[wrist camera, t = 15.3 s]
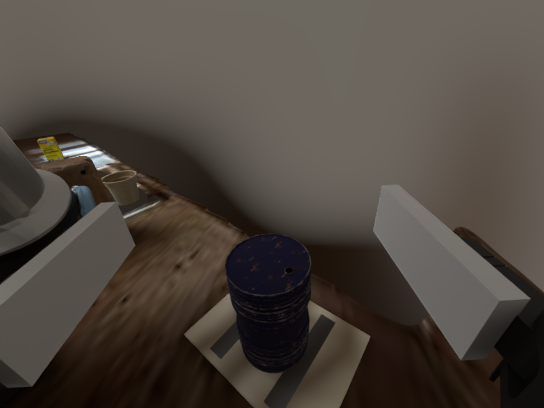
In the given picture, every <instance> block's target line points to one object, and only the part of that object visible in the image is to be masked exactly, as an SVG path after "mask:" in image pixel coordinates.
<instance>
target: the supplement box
mask: <svg viewBox="0 0 544 408" xmlns="http://www.w3.org/2000/svg"><path fill="white" fill-rule="evenodd" d="M37 142H38V144H39V145H40V147H41V149H42V151H43V153H44V155H45V156H46V158H47V160H48V162H54V161H56V160H60V159H64V156H63V154H62V152H61V150H60V148H59V146H58V144H57V142H56V140H55V138H54V137H49V138H43V139H38V141H37Z"/></svg>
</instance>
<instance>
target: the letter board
mask: <svg viewBox="0 0 544 408" xmlns="http://www.w3.org/2000/svg"><path fill="white" fill-rule="evenodd" d="M307 307H308V311H309V318H310V323H309V335H308V344H307V349H306V352H305V354H304V356H303V358H302V359H301V361H300V362H299V363H298V364H297V365H296V366H294V367H293V368H292V369H290V370H288V371H285V372H282V373H275V374H274V373H266V372H263V371H260V370H258V369H257V368H255V367H254V366H252V365H251V364H250V363H249V361H248V360H247V359H246V357H245V355H244V353H243V349H242V345H241V343H240V339H239V336H238V330H237V323H236V314H237V313H236V312H235V310H234V308H233V306H232V303H231V299H230V294H228V295H227V296H225V297H224V298H223V299H222V300H221V301H220V302H219V303H218V304H217V305H215V306H214V307H213V308H212V309H211V310H210V311H209V312H208V313H207V314H206V315H204V316H203V317H202V318H201V319H200V320H199V321H198V322H197V323H196V324H195V325H193V326H192V327H191V328H190V329H189V330H188V331H187V332H186V333H185V334H184V335H185V337H186V338H187V339H188V340H189V341H190V342H191V343H192V344H193V345H194V346H195V347H196V348H197V349H198V350H199V351H200V352H201V353H202V354H203V355H204V356H205V357H206V359H207V360H208V361H209V362H210V363H211V364H212V365H213V366H214V367H215V368H216V369H217V370H218V371H219V372H220V373H221V374H222V375H223V376H224V377H225V378H226V379H227V380H228V381H229V382H230V383H231V385H232V386H233V387H234V388H235V389H236V390H237V391H238V392H239V393H240V394H241V395H242V396H243V397H244V398H245V399H246V400H247V401H248V402H249V403H250V404H251V405H252V406H253V407H254V408H340V406H341V404H342V401H343V399H344V397H345V395H346V392H347V390H348V388H349V385H350V383H351V381H352V379H353V376H354V374H355V372H356V369H357V367H358V365H359V362H360V360H361V358H362V356H363V353H364V351H365V349H366V346H367V344H368V342H369V340H370V336H369V335H367V334H366V333H364V332H362V331H360V330H359V329H357V328H355V327H354V326H352V325H350V324H349V323H347V322H345V321H343V320H342V319H340V318H338V317H337V316H335V315H333V314H331V313H330V312H328V311H326V310H325V309H323V308H321V307H320V306H318V305H316V304H314V303H313V302H311V301H309V303H308V306H307Z"/></svg>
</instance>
